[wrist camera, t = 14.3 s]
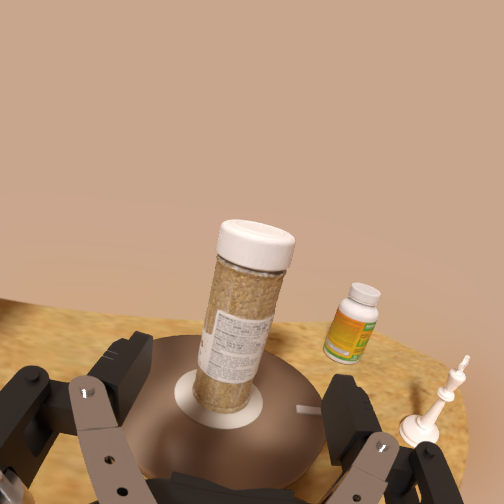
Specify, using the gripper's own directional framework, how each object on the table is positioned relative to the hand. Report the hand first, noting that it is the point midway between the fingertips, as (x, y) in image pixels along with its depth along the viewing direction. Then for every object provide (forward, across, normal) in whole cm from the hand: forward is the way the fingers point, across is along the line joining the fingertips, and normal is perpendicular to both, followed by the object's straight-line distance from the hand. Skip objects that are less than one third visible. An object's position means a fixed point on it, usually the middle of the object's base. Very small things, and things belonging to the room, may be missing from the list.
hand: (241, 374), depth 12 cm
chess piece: (+8, +20, -12) cm, 25 cm away
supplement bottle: (+22, +14, -12) cm, 29 cm away
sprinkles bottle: (+7, 0, -9) cm, 11 cm away
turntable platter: (+7, -1, -10) cm, 13 cm away
